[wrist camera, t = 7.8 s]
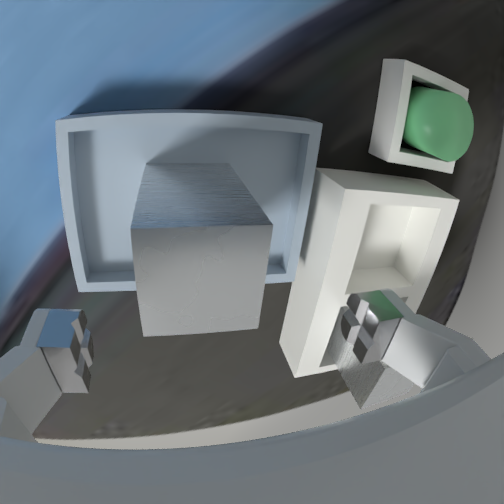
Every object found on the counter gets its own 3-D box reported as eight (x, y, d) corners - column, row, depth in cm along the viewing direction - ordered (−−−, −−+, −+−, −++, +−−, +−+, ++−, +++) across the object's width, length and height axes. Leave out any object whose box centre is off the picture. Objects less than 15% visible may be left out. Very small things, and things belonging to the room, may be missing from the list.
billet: (145, 163, 14) (130, 228, 8) (229, 163, 15) (273, 225, 9) (148, 240, 16) (143, 338, 10) (223, 238, 17) (257, 329, 11)
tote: (68, 115, 12) (55, 120, 11) (306, 117, 16) (322, 123, 14) (85, 271, 17) (78, 292, 15) (283, 263, 20) (294, 281, 18)
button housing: (383, 58, 15) (404, 59, 13) (448, 85, 16) (469, 89, 14) (368, 152, 17) (387, 161, 16) (433, 164, 19) (452, 173, 17)
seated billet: (332, 292, 21) (385, 368, 15) (378, 287, 22) (434, 352, 16) (318, 336, 23) (360, 410, 17) (362, 328, 24) (407, 393, 18)
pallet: (313, 167, 17) (345, 188, 14) (424, 180, 20) (459, 200, 17) (279, 342, 24) (294, 377, 21) (373, 326, 26) (394, 354, 23)
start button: (401, 78, 15) (436, 84, 12) (444, 95, 16) (478, 104, 13) (390, 142, 17) (423, 155, 14) (433, 151, 18) (465, 166, 15)
